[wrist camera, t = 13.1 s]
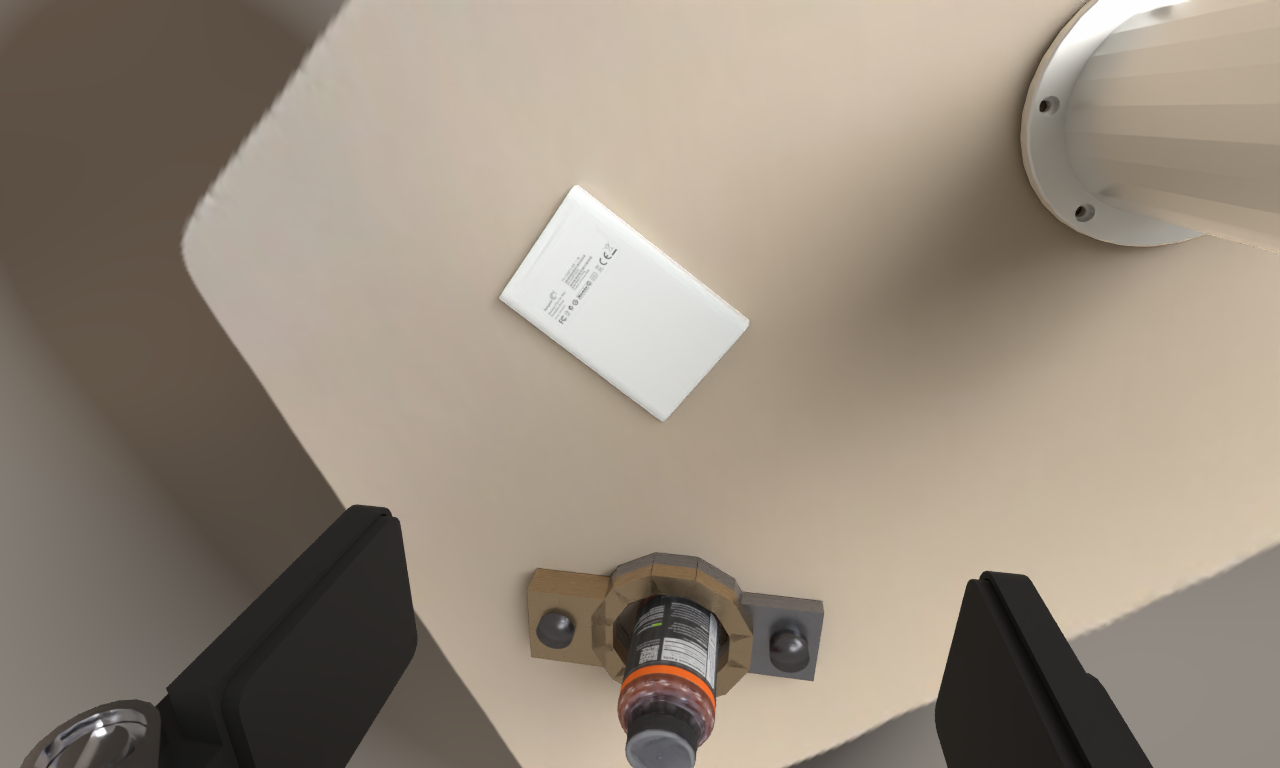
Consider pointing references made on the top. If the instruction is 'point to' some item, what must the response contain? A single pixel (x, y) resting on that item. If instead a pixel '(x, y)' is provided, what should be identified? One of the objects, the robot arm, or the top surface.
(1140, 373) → the top surface
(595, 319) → the external hard drive
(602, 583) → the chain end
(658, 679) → the supplement bottle
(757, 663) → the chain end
